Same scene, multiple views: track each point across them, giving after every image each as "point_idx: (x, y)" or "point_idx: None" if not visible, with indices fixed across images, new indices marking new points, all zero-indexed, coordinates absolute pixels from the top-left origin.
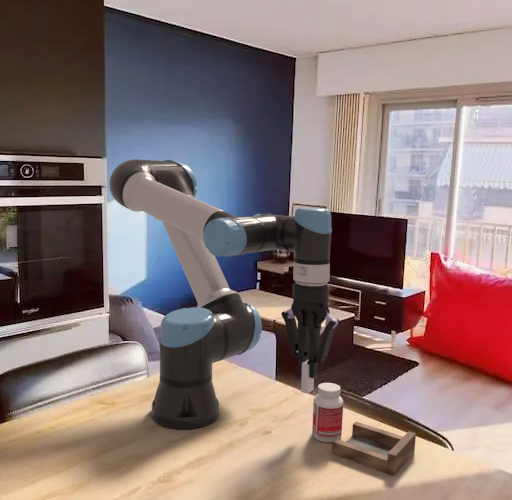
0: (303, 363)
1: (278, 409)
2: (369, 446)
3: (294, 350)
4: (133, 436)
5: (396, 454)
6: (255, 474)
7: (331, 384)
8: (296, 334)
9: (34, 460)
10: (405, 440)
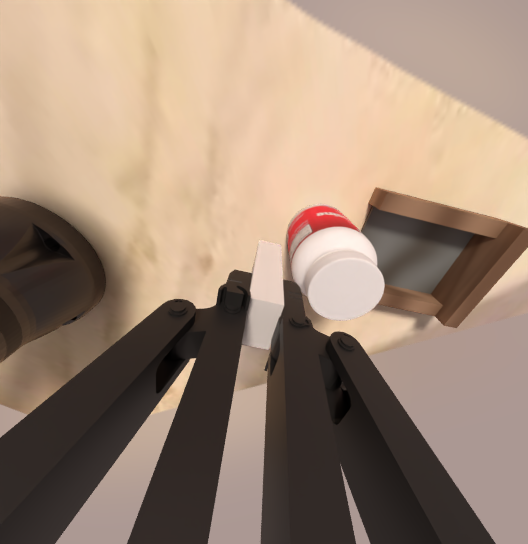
0: (245, 342)
1: (171, 148)
2: (404, 241)
3: (176, 376)
4: (55, 344)
5: (459, 323)
6: (246, 358)
7: (351, 271)
8: (93, 442)
9: (35, 404)
10: (497, 272)
